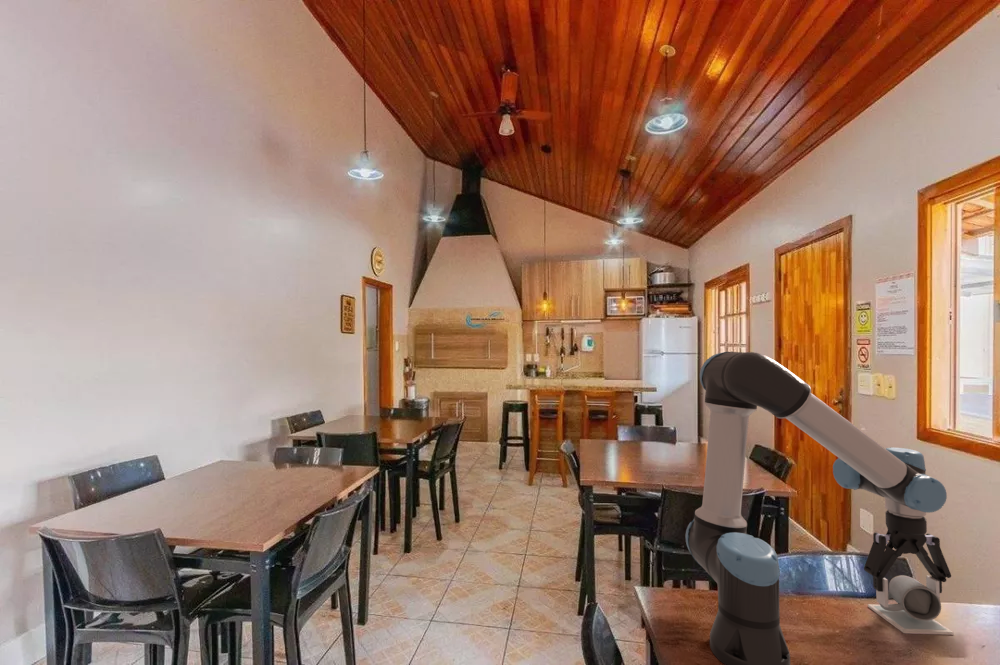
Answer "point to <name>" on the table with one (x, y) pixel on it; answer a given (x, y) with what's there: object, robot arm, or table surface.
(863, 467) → the robot arm
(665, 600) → the table surface
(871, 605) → the plate
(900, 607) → the ceramic mug
